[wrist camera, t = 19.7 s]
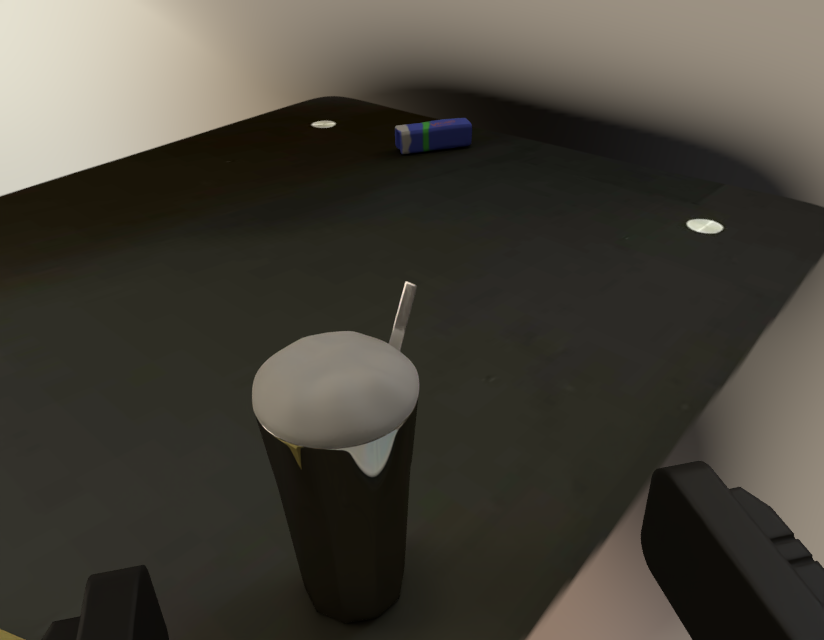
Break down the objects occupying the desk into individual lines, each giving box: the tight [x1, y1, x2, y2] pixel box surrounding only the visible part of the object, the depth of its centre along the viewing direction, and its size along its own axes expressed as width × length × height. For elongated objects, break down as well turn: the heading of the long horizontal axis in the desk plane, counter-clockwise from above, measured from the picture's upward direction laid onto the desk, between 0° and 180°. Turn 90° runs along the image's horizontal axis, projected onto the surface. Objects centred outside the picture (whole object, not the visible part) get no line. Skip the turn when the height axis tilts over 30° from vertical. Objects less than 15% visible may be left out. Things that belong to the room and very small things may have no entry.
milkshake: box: [252, 281, 419, 623], centre depth 22 cm, size 4×5×10 cm
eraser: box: [395, 118, 472, 154], centre depth 60 cm, size 2×6×2 cm, turn 105°
